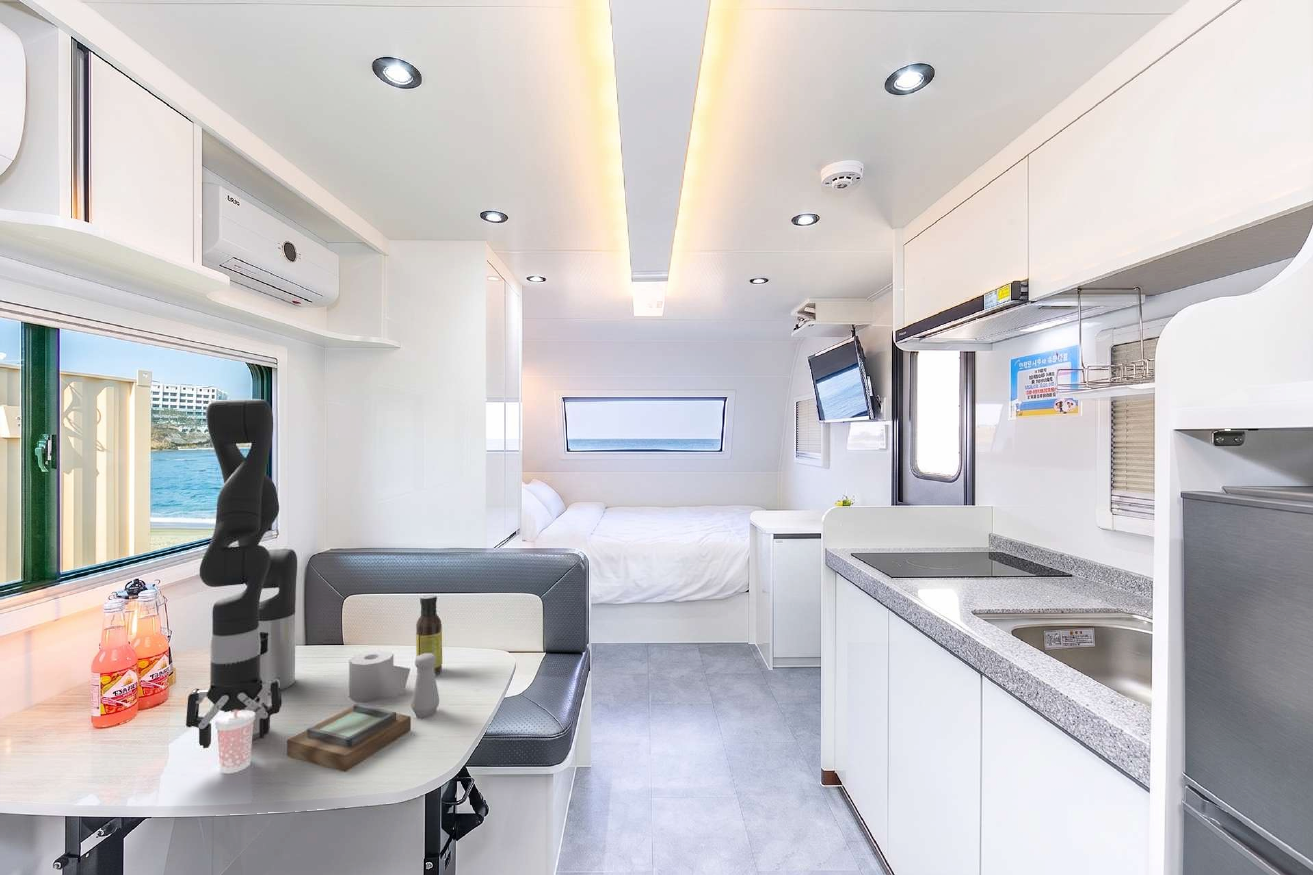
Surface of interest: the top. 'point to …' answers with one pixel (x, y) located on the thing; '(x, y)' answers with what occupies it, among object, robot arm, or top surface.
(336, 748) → the dock
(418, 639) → the sauce bottle
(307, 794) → the top surface
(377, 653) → the toilet tissue
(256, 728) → the travel mug
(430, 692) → the salt shaker
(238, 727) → the beverage cup
